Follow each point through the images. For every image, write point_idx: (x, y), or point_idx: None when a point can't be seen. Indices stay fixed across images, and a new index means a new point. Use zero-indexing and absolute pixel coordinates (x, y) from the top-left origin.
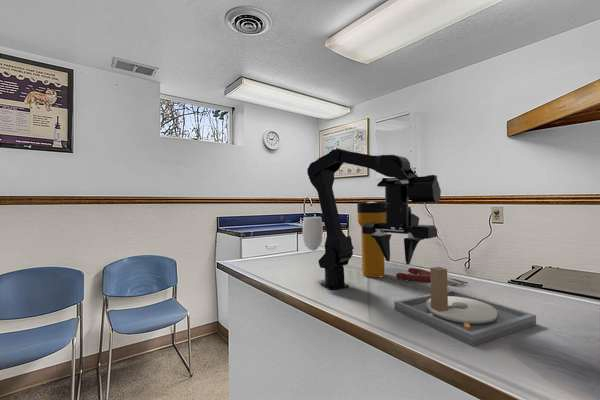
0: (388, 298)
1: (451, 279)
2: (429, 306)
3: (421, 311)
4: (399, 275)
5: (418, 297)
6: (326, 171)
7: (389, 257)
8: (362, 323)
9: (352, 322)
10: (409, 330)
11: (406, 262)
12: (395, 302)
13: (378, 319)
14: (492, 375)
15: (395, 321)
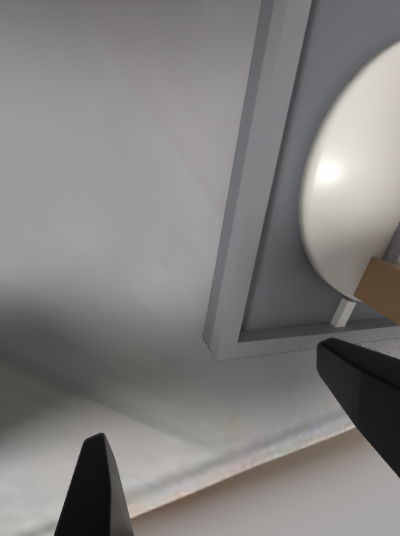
0: (73, 270)
1: None
2: (344, 290)
3: (334, 336)
4: None
5: (255, 226)
6: None
7: (113, 471)
8: (213, 472)
9: (192, 492)
10: (317, 386)
11: (334, 388)
12: (223, 358)
13: (223, 425)
14: None
15: (264, 389)
